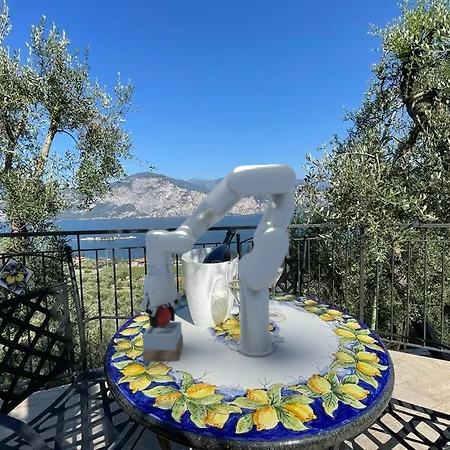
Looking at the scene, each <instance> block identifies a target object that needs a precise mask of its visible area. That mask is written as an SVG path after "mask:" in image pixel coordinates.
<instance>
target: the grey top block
mask: <svg viewBox="0 0 450 450" xmlns="http://www.w3.org/2000/svg"><path fill="white" fill-rule="evenodd" d="M182 334H183V333H182V321H170V322H169V323H168V324H167V325H166V326H165V327H164V328H161V327H159V326H158V327H157V328H154V327H152V326H150V325H148V327H147V328H146V330H145V331H144V333H143V334H142V346H143V347H142V351H143V350H175V349H176V347H177V345H178V343H179V340H180V338H181V336H182Z"/></svg>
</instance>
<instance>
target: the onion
mask: <svg viewBox="0 0 450 450" xmlns="http://www.w3.org/2000/svg"><path fill="white" fill-rule="evenodd" d="M155 315H156V316H157V326H159V327H161V328H164V327H165V326H166V325H167V324H168V323H169V322H171V321H170V320H171V312H170V310H169V309H168V307H166V306H165V304H164V305H161V306H157V309H156V313H155Z"/></svg>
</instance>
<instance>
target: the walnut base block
mask: <svg viewBox="0 0 450 450" xmlns="http://www.w3.org/2000/svg"><path fill="white" fill-rule="evenodd" d="M183 346H184V336H183V333H182V336H181V338H180V340H179V343H178V345H177V347H176V349H175V350H143V349H142V362H143V364H144V363H160V362H161V363H162V362H164V363H165V361H168V362H179V361H180V357H181V353H182V349H183Z"/></svg>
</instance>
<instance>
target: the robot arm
mask: <svg viewBox="0 0 450 450" xmlns="http://www.w3.org/2000/svg"><path fill="white" fill-rule="evenodd" d="M296 174H297V173H296V171H295V170H294V169H293V167H291V166H290V165H287V164H284V163H273V164H272V163H270V164H257V165H252V164H251V165H238V166H236V167H234V168H233V169H232V170H231V171H230V172H229V173H228V174H227V175H226V176H225V177H223V179H222V180H221V181H220V182H219V183H218V184H217V185H216V186H215V187H214V188H213V189H212V190H211V191H210V192H209V193H208V194H207V195H206V196H204V198H203V200H202V201H201V202H200V203H199V205H198V206H197V207H196V209H195V210H194V211H193V212H192V213H191V214H190V215H189V216H188V217H187V218H186V219H185V221H184V222H182V223H181V225H179V227H178V228H177V229H175V230H172V231H168V230H166V229H153V230H149V231H147V232H146V233H145V248H146V251H145V252H146V265H147V266H146V267H147V268H146V269H147V274H145V275H144V276H145V277H144V282H143V300H142V302H141V303H140V304H139V307H138V308H139V310H142V311H143V312H144V313H145V314H147V315H148V319H149V322H148V323H149V326H152V327H154V328H157V327H158V326H157V316H156V315H155V313H156V309H157V308H158V307H159V306H161V305H164V306H165V305H167V308H168V309H169V310H170V312H171V320H170V322H176V321H175V320H176V318H175V317H176V314H175V310H176V308H177V305H178V303H179V300H180V299H181V298H182V294H181V293H180V292H179V291H178V290H177V283H176V277H175V276H176V275H175V273H174V271H173V269H172V268H173V267H174V266H175V264H174V262H172V254H175V255H186V254H188V253H189V252H191V251H192V249H193V248H194V245H195V243H196V242H197V241H198V240H199V239H200V238H201V236H202V235H204V233H205V232H207V230H209V229H210V228H211V227H212V226H214V225H215V224H216V223H219V222H220V221H221V220H223V219H224V218H225V217H226V216H227V215H228V214H229V213H230V212H231V211H232V209H234V207H235V206H236V205H238V203H240V201H241V200H242V199H244V197H245V196H257V195H258V196H259V195H267V196H268V202H267V205H266V208H265V209H264V213H263V215H262V217H261V220H260V221H259V223H258V225H257V227H256V229H255V231H254V233H253V237H252V238H253V239H252V240H253V243H254V246H253V248H252V250H251V252H248V253H246V254H244V255H242V257H241V258H240V260H239V262H238V266H237V275H238V288H239V289H238V290H239V314H240V315H239V317H240V318H239V319H240V320H239V321H240V339H238V341H236V344H235V345H236V347H235V348H236V350H237V352H239V353H240V354H241V355H245V356H247V357H255V358H257V357H264V356H269V355H270V354H272V353H273V352H274V351H275V349H276V347H275V345H276V344H285V337H284V336H280V334H278V333H276V334H272V333H271V332H270V331H271V330H270V290H269V287H271V285H272V284H273V282H274V281H275V279H276V277H277V275H278V272H279V271H280V268H281V266H282V264H283V262H284V260H285V258H286V255H287V254H288V251H289V247H290V237H289V235H288V233H287V228H288V226H289V225H290V222H291V219H292V217H293V215H294V211H295V209H296V208H295V207H296V195H295V190H294V186H295V185H296V182H297V175H296ZM147 306H148V307H147Z"/></svg>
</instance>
